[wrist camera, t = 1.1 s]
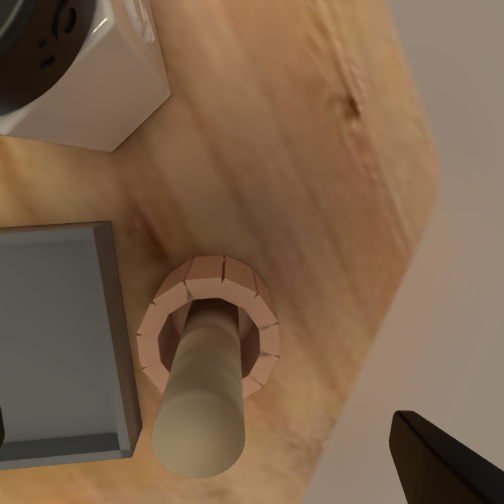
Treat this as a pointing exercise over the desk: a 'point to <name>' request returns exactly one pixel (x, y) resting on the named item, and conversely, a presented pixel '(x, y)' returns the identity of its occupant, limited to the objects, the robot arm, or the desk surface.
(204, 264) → the cup
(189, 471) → the dowel
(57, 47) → the jar
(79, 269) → the tray
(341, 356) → the desk surface
